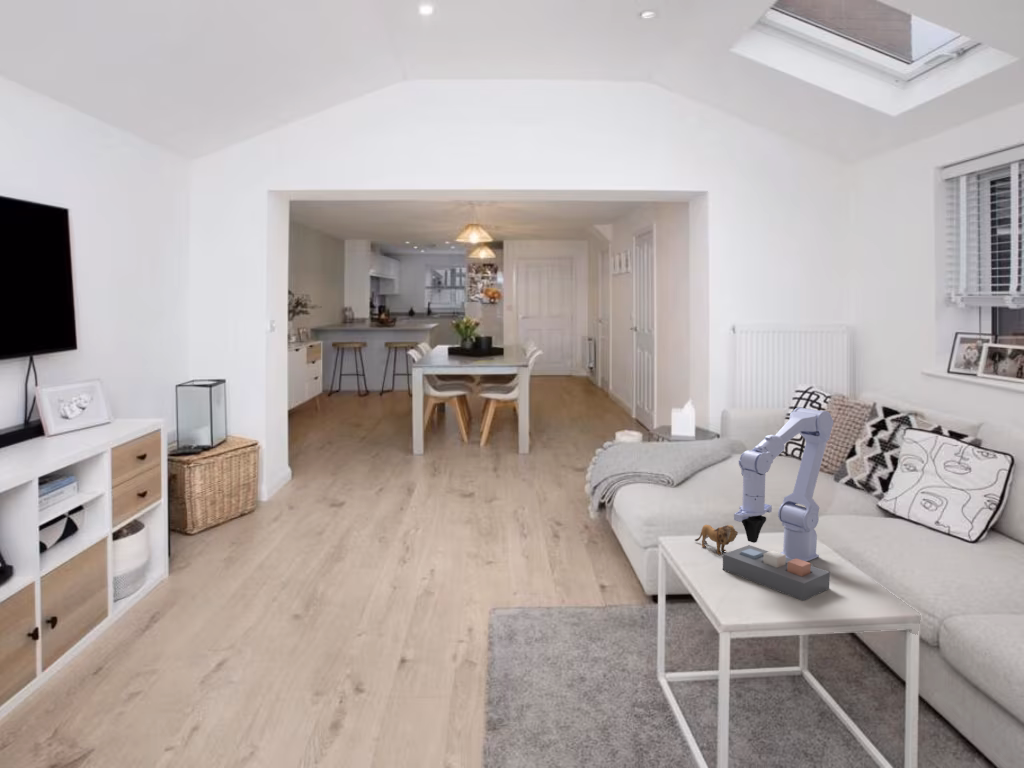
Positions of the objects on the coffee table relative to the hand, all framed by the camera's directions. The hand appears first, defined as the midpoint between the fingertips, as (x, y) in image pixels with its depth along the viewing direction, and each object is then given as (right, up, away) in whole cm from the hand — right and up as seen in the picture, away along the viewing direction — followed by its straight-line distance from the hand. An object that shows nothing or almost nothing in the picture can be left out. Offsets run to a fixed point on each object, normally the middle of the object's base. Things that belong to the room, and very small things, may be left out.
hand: (752, 541), depth 176 cm
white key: (+4, -5, -5) cm, 8 cm away
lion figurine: (-5, -7, +17) cm, 19 cm away
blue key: (0, -6, +1) cm, 6 cm away
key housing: (+4, -9, -5) cm, 11 cm away
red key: (+8, -6, -11) cm, 15 cm away
